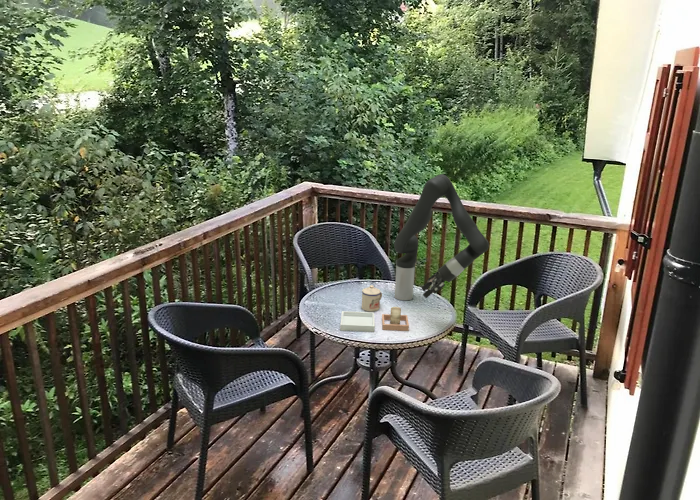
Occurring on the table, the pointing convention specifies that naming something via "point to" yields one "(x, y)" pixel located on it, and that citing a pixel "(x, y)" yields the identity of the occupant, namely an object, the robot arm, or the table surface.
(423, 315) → the table surface
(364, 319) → the pale green tray
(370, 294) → the teacup with lid
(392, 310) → the birch cylinder
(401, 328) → the orange brown tray
